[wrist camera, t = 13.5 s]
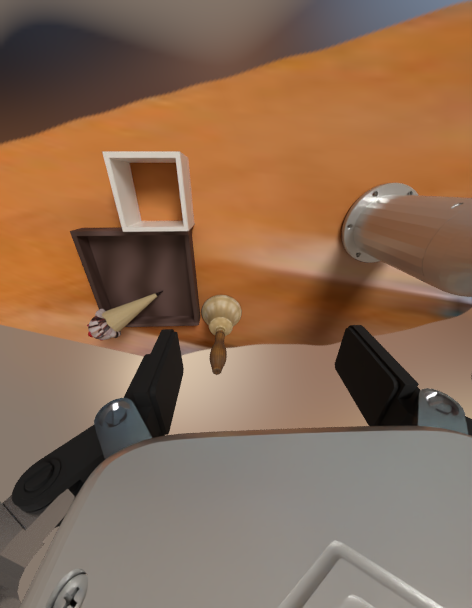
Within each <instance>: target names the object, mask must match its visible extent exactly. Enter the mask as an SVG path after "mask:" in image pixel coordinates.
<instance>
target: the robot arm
mask: <svg viewBox="0 0 472 608" xmlns="http://www.w3.org/2000/svg"><path fill="white" fill-rule="evenodd" d="M348 225H349V226H348ZM347 226H348V227H347ZM342 242H343V246H344V248H345V250H346V251H347V253H348V254H349V255H350V256H351V257H353V258H355V259H357V260H359V261H361V262H366V263H374V262H379V261H382V262H384V263H386V264H388V265H391V266H393V267H395V268H397V269H399V270H401V271H403V272H405V273H407V274H409V275H411V276H413V277H415V278H417V279H419V280H421V281H423V282H426V283H428V284H430V285H432V286H434V287H436V288H438V289H440V290H442V291H445V292H448V293H450V294H454V295H458V296H466V297H472V198H459V197H437V196H419V195H418V194H417V193H416V191H415V190H414V189H413V188H411V187H410V186H408V185H405V184H401V183H387V184H383V185H379V186H377V187H374V188H372V189H371V190H369V191H367V192H366V193H364V194H363V195H362V196H361V197H360V198H359V199H358V200H357V201H356V202H355V203H354V204H353V205H352V207H351V209H350V210H349V212H348V213H347V215H346V218H345V220H344V223H343V227H342ZM335 369H336V371H337V372H338V374H339V376H340V377H341V379H342V381H343V383H344V384H345V386H346V388H347V389H348V391H349V393H350V394H351V396H352V398H353V399H354V401H355V403H356V405H357V406H358V408H359V410H360V411H361V413H362V415H363V417H364V418H365V420H366V422H367V423H368V425H369V426H362V427H361V426H360V427H327V428H301V429H300V428H299V429H271V430H247V431H223V432H204V433H186V434H176V435H166V434H168V433H169V431H170V426H171V422H172V418H173V414H174V410H175V406H176V401H177V397H178V393H179V389H180V385H181V381H182V376H183V363H182V358H181V351H180V345H179V340H178V334H177V332H174V330H173V329H166V330H162V331H161V332H160V335H159V337H158V339H157V341H156V343H155V345H154V348H153V350H152V352H151V354H146V355H145V356H144V358H143V360H142V362H141V364H140V366H139V368H138V370H137V372H136V374H135V376H134V378H133V380H132V382H131V384H130V386H129V388H128V390H127V392H126V394H125V396H124V398H120V399H115V400H113V401H110V402H109V403H107V404H106V405H104V406H103V407H102V408H101V409H100V410H99V412H98V413H97V415H96V417H95V420H94V425H93V426H91V427H90V428H88V429H87V430H85V431H84V432H82V433H81V434H79V435H78V436H76V437H74V438H73V439H71V440H70V441H69V442H67V443H65V444H64V445H62V446H61V447H59V448H58V449H56V450H54V451H53V452H52V453H50V454H48V455H47V456H45V457H44V458H42V459H41V460H39V461H38V462H36V463H35V464H34V465H32V466H31V467H30V468H29V469H28V470H27V471H26V472H25V473H24V474H23V475H22V476H21V477H20V479H19V480H18V482H17V483H16V485H15V487H14V490H13V492H12V495H11V496H10V497H9V498H8V499H7V500H6V501H4V502H3V503H1V502H0V608H472V419H470V418H468V417H466V416H465V413H464V410H463V408H462V407H461V406H460V404H459V403H458V402H456V401H455V400H454V399H453V398H451V397H450V396H448V395H447V394H445V393H442V392H440V391H437V390H434V389H428V388H427V389H422V390H420V389H419V388H418V387H417V386H418V383H417V382H416V381H415V380H414V379H413V378H412V377H411V376H410V374H409V373H408V372H407V371H406V370H405V369H404V368H403V367H402V366H401V365H400V364H399V363H398V362H397V361H396V360H395V359H394V358H393V357H392V356H391V355H390V354H389V353H388V352H387V351H386V350H385V349H384V348H383V347H382V346H381V344H379V342H378V341H377V340H376V339H375V338H374V337H373V336H372V335H371V334H370V333H369V332H368V331H367V330H366V329H365V328H364V327H363V326H362V325H351V326H349V327H348V328H346V330H345V332H344V336H343V339H342V342H341V346H340V349H339V352H338V355H337V358H336V362H335ZM471 377H472V375H471ZM471 379H472V378H471ZM165 435H166V436H165ZM58 526H59V528H58V530H57V532H56V534H55V536H54V538H53V540H52V542H51V544H50V546H49V548H48V550H47V552H46V554H45V556H44V558H43V560H42V562H41V564H40V566H39V568H38V571H37V573H36V575H35V576H34V579H33V581H32V583H31V585H30V587H29V589H28V591H27V593H26V595H25V597H24V599H23V601H22V603H21V602H20V600H19V596H18V592H17V591H18V586H19V581H20V578H21V576H22V574H23V572H24V569H25V568H26V566H27V565H28V563H29V562H30V561H31V559H32V558H33V556H34V555H35V554H36V553H37V552H38V550H39V549H40V548H41V547H42V546H43V545H44V543H43V540H44V539H45V538H46V537H47V536H48V535H49V533H50V532H51V531H52V530H53V529H54V528H55V527H58ZM84 574H87V575H84Z"/></svg>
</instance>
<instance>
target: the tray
mask: <svg viewBox="0 0 472 608" xmlns="http://www.w3.org/2000/svg"><path fill="white" fill-rule="evenodd" d="M70 233H71V235H72V238H73V241H74V243H75V246H76V249H77V251H78V254H79V257H80V259H81V262H82V265H83V267H84V270H85V273H86V275H87V278H88V281H89V283H90V286H91V289H92V291H93V294H94V297H95V299H96V302H97V305H98V307H99V310H100V309H104V310H105V311H108V310H110V309H113V308H116V307H119V306H122V305H124V304H127V303H130V302H133V301H135V300H138V299H141V298H144V297H147V296H149V295H152V294H155V293H158V292H160V291H163V292H162V293H161V294H160V295H158V296H157V297H156V298H155V299H154V300H153V301H152V302H151V303H150V304H149V305H148V306H147V307H146V308H144V309H143V310H142V311H141V312H140V313H139V314H138V315H137V316H136V317H135V318H134V319H133V320H131V321H130V322H129V323H128V324H127V325H126V326H125V327H149V326H194V325H199V321H200V309H199V299H198V290H197V280H196V270H195V260H194V251H193V241H192V231H191V229H190V230H189V231H145V232H123V230H122V228H80V229H77V230H73V231H70Z"/></svg>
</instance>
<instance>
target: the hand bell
mask: <svg viewBox="0 0 472 608" xmlns="http://www.w3.org/2000/svg"><path fill="white" fill-rule="evenodd" d="M201 312H202V317H203V319H204V321H205V322H206V323H207V324H208V325H209V329H210V331H211V333H212V334H214V335H215V343H214V345H213V346H212V349H211V352H210V363H211V367H212V371H213V373H214V374H216V375H217V374H220V373H221V371H222V368H223V366H224V364H225V362H226V348H225V345H224V337H225V336H226V335H228V334H229V333H230V332H231V331H232V328H233V326H234V325H236V324H237V323H238V321H239V320H240V318H241V314H242V311H241V307H240V305H239V303H238V302H237V301H236V300H235V299H233V298H231V297H229V296H226V295H217V296H213V297H211V298H209V299H208V300H207V301H206V302H205V303H204V305H203V307H202V311H201Z"/></svg>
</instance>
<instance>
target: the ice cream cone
mask: <svg viewBox="0 0 472 608" xmlns="http://www.w3.org/2000/svg"><path fill="white" fill-rule="evenodd" d="M162 292H163V291H160V292H158V293H155V294H152V295H149V296H147V297H144V298H141V299H138V300H135V301H133V302H130V303H127V304H124V305H122V306H119V307H116V308H113V309H110V310H108V311H105V310H104V309H100V310H98V311H97V312H96V314H95V317H94V318H93V319H92V320H91V321H90V323H89V324H88V325H87V326H88V327H89V328H88V329H89V333H88V336H90V337H94V338H96V339H100V340H105V339H109V338H112V337H113V338H117V337H119V336H120V335H121V330H122V329H123V328H124V327H125V326H126V325H127V324H128V323H129V322H130V321H131V320H133V319H134V318H135V317H136V316H137V315H138V314H139V313H140V312H141V311H142V310H143V309H144V308H146V307H147V306H148V305H149V304H150V303H151V302H152V301H153V300H154V299H155V298H156V297H157V296H158V295H160V294H161V293H162Z"/></svg>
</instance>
